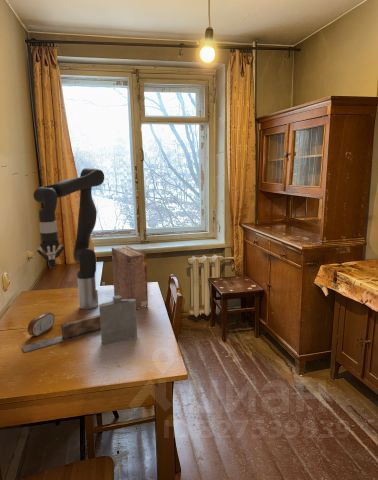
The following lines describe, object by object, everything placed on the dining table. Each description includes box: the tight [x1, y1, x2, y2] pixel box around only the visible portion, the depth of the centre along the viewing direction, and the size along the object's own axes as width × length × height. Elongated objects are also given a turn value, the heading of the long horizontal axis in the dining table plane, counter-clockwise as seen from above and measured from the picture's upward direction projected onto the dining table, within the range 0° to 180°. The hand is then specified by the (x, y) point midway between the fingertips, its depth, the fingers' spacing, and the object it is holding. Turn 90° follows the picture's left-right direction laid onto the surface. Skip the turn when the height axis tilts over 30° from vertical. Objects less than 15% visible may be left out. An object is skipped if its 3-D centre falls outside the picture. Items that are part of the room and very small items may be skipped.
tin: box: [27, 311, 55, 337], centre depth 164 cm, size 15×3×8 cm, turn 160°
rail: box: [21, 328, 101, 353], centre depth 159 cm, size 36×5×1 cm, turn 125°
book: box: [111, 245, 149, 310], centre depth 197 cm, size 25×9×30 cm, turn 34°
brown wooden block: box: [60, 314, 101, 339], centre depth 163 cm, size 18×4×6 cm, turn 125°
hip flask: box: [98, 295, 138, 345], centre depth 155 cm, size 16×4×20 cm, turn 114°
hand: (52, 266), depth 168 cm, fingers closed
